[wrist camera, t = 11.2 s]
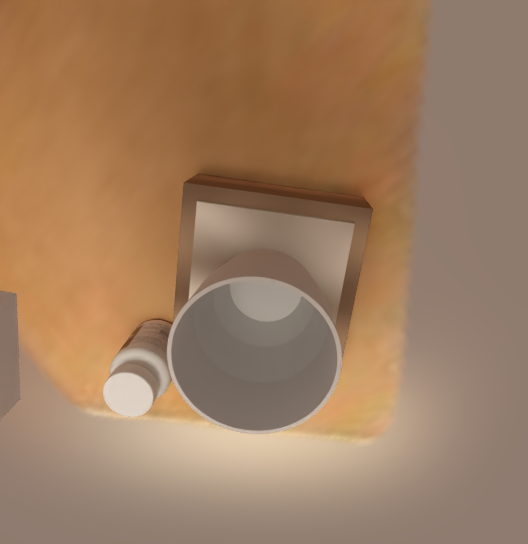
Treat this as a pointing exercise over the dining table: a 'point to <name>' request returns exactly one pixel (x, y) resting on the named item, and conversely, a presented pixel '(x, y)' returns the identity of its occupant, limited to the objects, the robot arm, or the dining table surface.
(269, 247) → the pedestal
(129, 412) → the pill bottle
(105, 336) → the dining table surface
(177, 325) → the cup
